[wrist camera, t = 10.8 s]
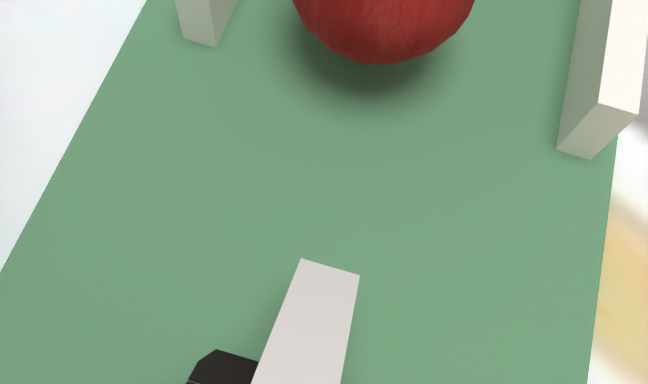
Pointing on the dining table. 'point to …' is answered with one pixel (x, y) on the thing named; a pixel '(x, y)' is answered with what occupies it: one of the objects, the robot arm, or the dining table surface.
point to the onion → (383, 26)
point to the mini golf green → (583, 78)
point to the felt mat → (317, 206)
